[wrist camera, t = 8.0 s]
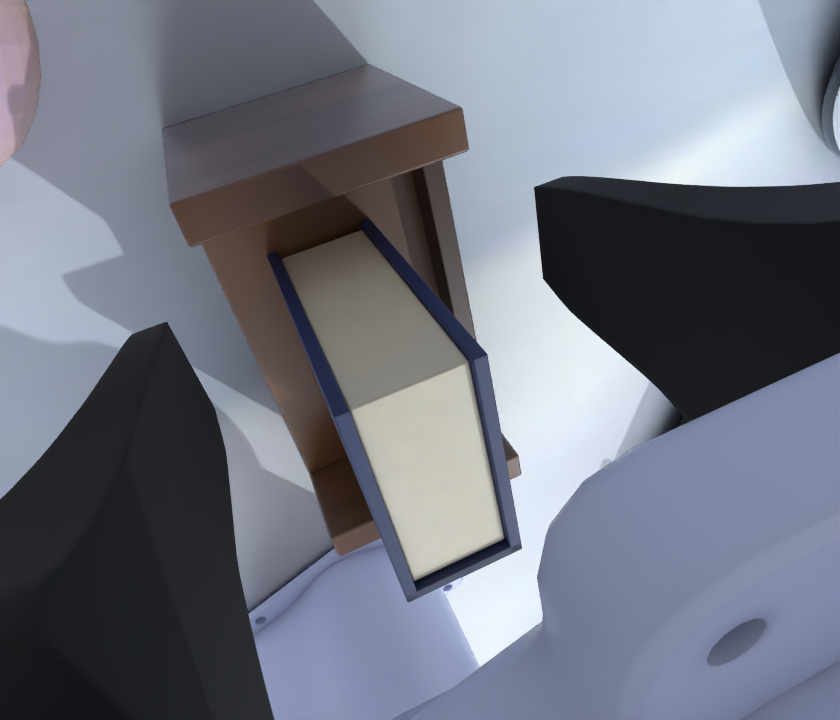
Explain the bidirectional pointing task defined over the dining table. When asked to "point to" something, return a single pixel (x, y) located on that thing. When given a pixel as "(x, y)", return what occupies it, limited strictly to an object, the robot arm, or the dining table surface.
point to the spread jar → (832, 111)
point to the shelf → (319, 229)
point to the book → (405, 406)
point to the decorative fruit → (17, 75)
